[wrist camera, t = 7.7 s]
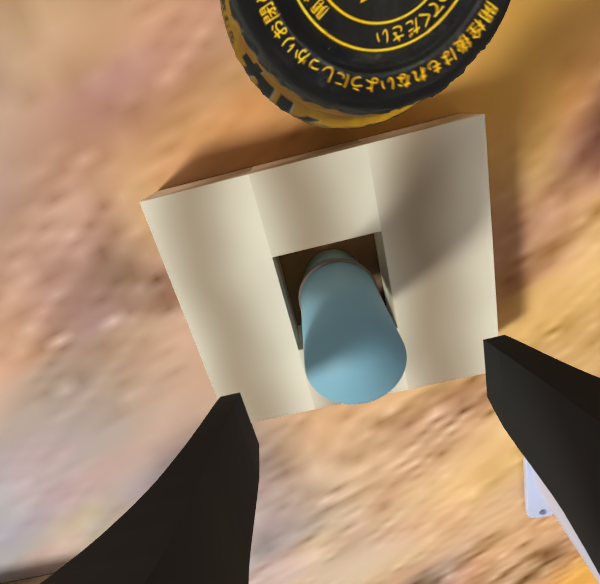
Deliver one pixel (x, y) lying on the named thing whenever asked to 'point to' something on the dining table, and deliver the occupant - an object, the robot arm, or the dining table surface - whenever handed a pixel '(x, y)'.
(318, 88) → the condiment
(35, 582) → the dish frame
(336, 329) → the peg
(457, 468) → the dining table surface
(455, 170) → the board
